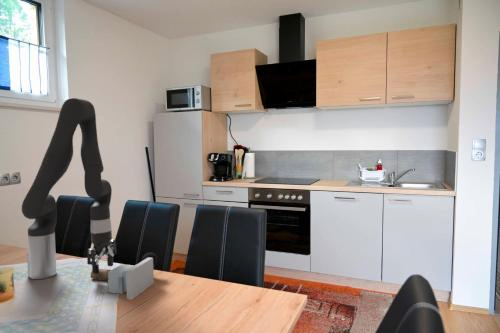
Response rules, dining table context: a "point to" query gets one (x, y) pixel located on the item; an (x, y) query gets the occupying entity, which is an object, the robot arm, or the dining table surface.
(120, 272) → the sleeve block
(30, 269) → the robot arm
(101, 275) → the dowel
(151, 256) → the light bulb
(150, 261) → the base plate
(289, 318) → the dining table surface
